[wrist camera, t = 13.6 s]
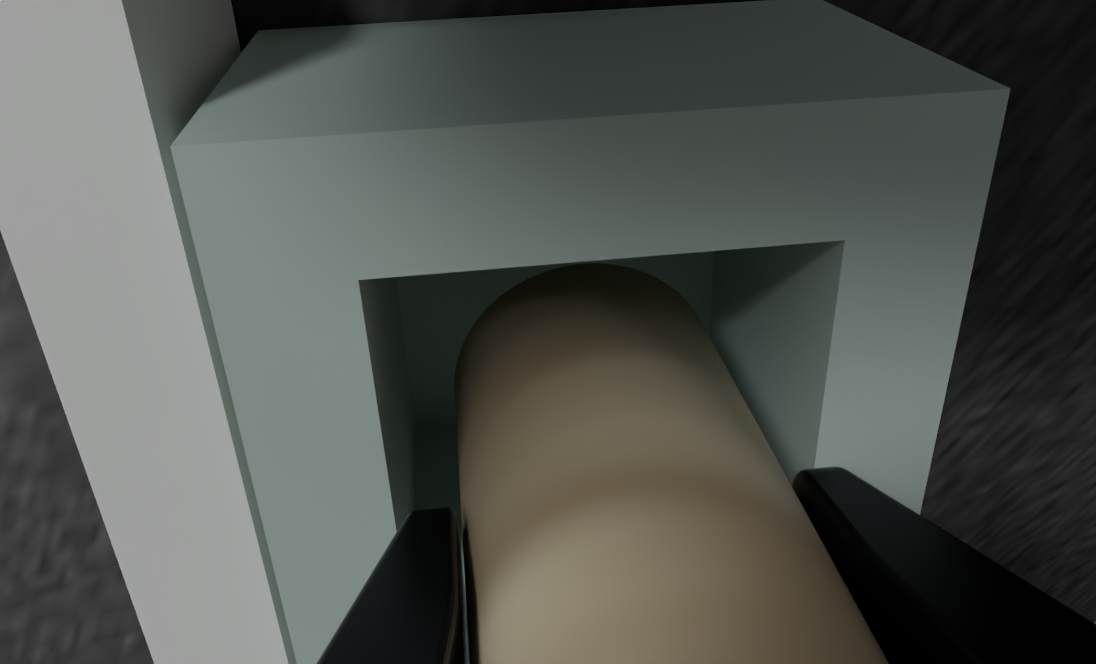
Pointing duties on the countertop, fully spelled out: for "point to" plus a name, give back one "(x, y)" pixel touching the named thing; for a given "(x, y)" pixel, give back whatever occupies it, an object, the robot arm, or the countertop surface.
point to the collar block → (574, 238)
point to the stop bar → (136, 307)
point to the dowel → (629, 492)
